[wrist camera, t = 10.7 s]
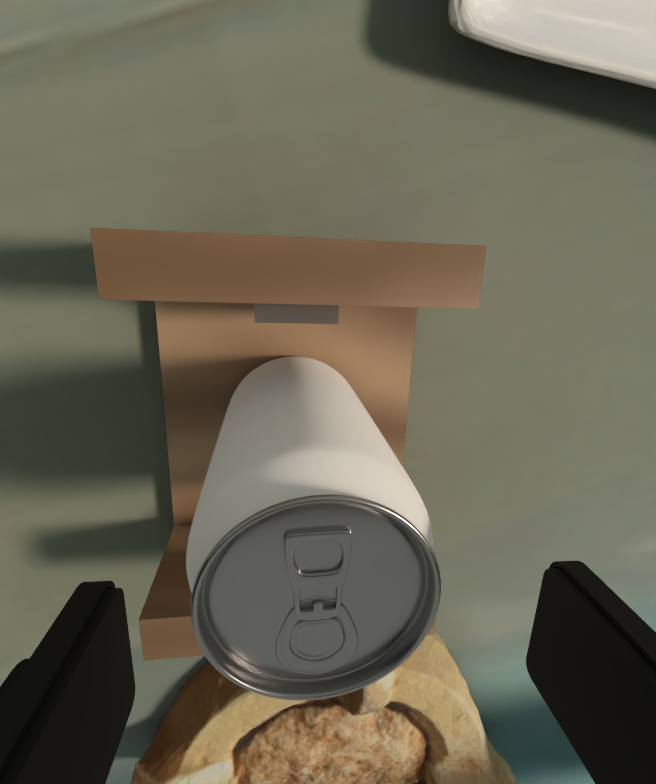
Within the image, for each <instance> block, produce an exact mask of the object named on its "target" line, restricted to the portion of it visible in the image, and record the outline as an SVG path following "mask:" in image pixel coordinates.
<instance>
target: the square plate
mask: <svg viewBox="0 0 656 784" xmlns="http://www.w3.org/2000/svg"><path fill="white" fill-rule="evenodd" d="M448 16H449V22H450V25H451V26H452V27H453V28H454V29H455V30H456V31H457V32H458V33H459V34H461V35H464V36H466V37H468V38H471V39H473V40H475V41H478V42H481V43H483V44H486V45H489V46H491V47H494V48H498V49H501V50H504V51H507V52H510V53H514V54H518V55H522V56H526V57H530V58H534V59H537V60H540V61H543V62H547V63H552V64H557V65H561V66H565V67H569V68H573V69H578V70H582V71H586V72H590V73H594V74H598V75H602V76H606V77H610V78H614V79H618V80H622V81H626V82H630V83H634V84H638V85H642V86H646V87H649V88H653V89H656V0H449V8H448Z"/></svg>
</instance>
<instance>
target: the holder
mask: <svg viewBox="0 0 656 784" xmlns="http://www.w3.org/2000/svg"><path fill="white" fill-rule="evenodd" d="M90 230H91V238H92V246H93V254H94V262H95V271H96V279H97V287H98V295H99V300H138V301H155V307H156V318H157V330H158V342H159V354H160V365H161V377H162V389H163V401H164V412H165V424H166V436H167V448H168V459H169V471H170V483H171V495H172V506H173V518H174V528H173V531H172V533H171V536H170V538H169V541H168V544H167V546H166V549H165V552H164V554H163V557H162V560H161V562H160V565H159V568H158V570H157V573H156V576H155V578H154V581H153V583H152V586H151V589H150V591H149V594H148V597H147V599H146V602H145V605H144V607H143V610H142V613H141V615H140V618H139V627H140V635H141V643H142V651H143V660H153V659H165V658H176V657H188V656H199V655H204V654H203V652H202V651H201V649H200V647H199V645H198V643H197V640H196V638H195V635H194V632H193V628H192V622H191V610H190V607H191V596H192V593H191V590H190V586H189V582H188V577H187V570H186V553H187V545H188V538H189V534H190V529H191V526H192V522H193V518H194V514H195V511H196V508H197V504H198V501H199V498H200V494H201V491H202V488H203V484H204V481H205V478H206V475H207V471H208V468H209V465H210V462H211V459H212V455H213V452H214V449H215V446H216V443H217V440H218V436H219V433H220V430H221V427H222V424H223V421H224V418H225V415H226V412H227V409H228V406H229V403H230V400H231V398H232V396H233V394H234V392H235V390H236V388H237V387H238V385H239V384H240V383H241V381H242V380H243V379H244V378H245V377H246V376H247V375H248V374H249V373H250V372H252V371H253V370H254V369H256V368H257V367H259V366H261V365H262V364H264V363H267V362H269V361H272V360H275V359H279V358H284V357H306V358H311V359H314V360H318V361H320V362H323V363H325V364H327V365H328V366H330V367H332V368H333V369H335V370H336V371H337V372H338V373H339V374H340V375H342V376H343V377H344V379H345V380H346V381H347V382H348V383H349V385H350V386H351V388H352V389H353V391H354V392H355V393H356V395H357V396H358V398H359V400H360V401H361V403H362V404H363V406H364V407H365V409H366V410H367V412H368V413H369V415H370V416H371V418H372V420H373V421H374V423H375V424H376V426H377V427H378V429H379V430H380V432H381V434H382V435H383V437H384V438H385V440H386V441H387V443H388V445H389V446H390V448H391V449H392V451H393V452H394V454H395V456H396V457H397V459H398V460H399V462H400V463H401V465H402V460H403V449H404V439H405V428H406V418H407V407H408V397H409V386H410V376H411V365H412V355H413V344H414V334H415V323H416V313H417V307H431V308H473V309H478V305H479V297H480V290H481V283H482V276H483V268H484V261H485V254H486V246H480V245H458V244H436V243H414V242H392V241H370V240H348V239H326V238H305V237H283V236H261V235H239V234H217V233H195V232H173V231H151V230H129V229H108V228H90ZM435 618H436V616H435ZM434 625H435V619H434V621H433V624H432V626H431V628H430V630H429V632H428V633H427V635H426V636H428V635H433V633H434Z"/></svg>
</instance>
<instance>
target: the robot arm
mask: <svg viewBox="0 0 656 784" xmlns="http://www.w3.org/2000/svg"><path fill="white" fill-rule="evenodd" d="M526 665H527V669H528V672H529V675H530V677H531V679H532V681H533V682H534V684H535V686H536V687H537V689H538V691H539V692H540V694H541V695H542V697H543V699H544V700H545V702H546V704H547V705H548V707H549V709H550V710H551V712H552V713H553V715H554V717H555V718H556V720H557V722H558V723H559V725H560V727H561V728H562V730H563V731H564V733H565V735H566V736H567V738H568V740H569V741H570V743H571V745H572V746H573V748H574V749H575V751H576V753H577V754H578V756H579V758H580V759H581V761H582V763H583V764H584V766H585V767H586V769H587V771H588V772H589V774H590V776H591V777H592V779H593V781H594V782H595V784H656V632H655V631H654V630H653V629H652V628H651V627H649V626H648V625H647V624H646V623H645V622H644V621H643V620H642V619H641V618H640V617H639V616H638V615H637V614H636V613H635V612H634V611H633V610H632V609H631V608H630V607H629V606H628V605H627V604H626V603H625V602H624V601H622V600H621V599H620V598H619V597H618V596H617V595H616V594H615V593H614V592H613V591H612V590H611V589H610V588H609V587H608V586H607V585H606V584H605V583H604V582H603V581H602V580H601V579H600V578H599V577H598V576H597V575H595V574H594V573H593V572H592V571H591V570H590V569H589V568H588V567H587V566H586V565H585V564H584V563H582V562H580V561H559V562H553V563H552V564H551V565H550V567H549V569H546V570H545V572H544V575H543V580H542V585H541V590H540V595H539V599H538V604H537V609H536V614H535V619H534V624H533V628H532V633H531V638H530V643H529V648H528V652H527V657H526ZM134 696H135V681H134V673H133V665H132V656H131V648H130V640H129V632H128V624H127V616H126V608H125V600H124V593H123V590H122V588H115V584H114V583H113V581H97V582H83V583H81V584H80V585H79V586H78V587H77V588H76V590H75V591H74V593H73V594H72V596H71V597H70V599H69V600H68V602H67V603H66V605H65V606H64V608H63V609H62V611H61V612H60V614H59V615H58V617H57V618H56V620H55V621H54V623H53V624H52V626H51V627H50V629H49V630H48V632H47V633H46V635H45V636H44V638H43V639H42V641H41V642H40V644H39V645H38V647H37V648H36V650H35V651H34V653H33V654H32V656H31V657H30V659H24V660H22V661H21V662H20V663H18V664H17V665H16V666H15V668H14V669H13V670H12V671H11V672H10V674H9V675H8V677H7V678H6V680H5V681H4V682H3V684H2V685H1V687H0V784H105V783H106V780H107V777H108V774H109V771H110V768H111V766H112V763H113V760H114V757H115V754H116V751H117V749H118V746H119V743H120V740H121V737H122V734H123V732H124V729H125V726H126V723H127V720H128V717H129V715H130V712H131V709H132V706H133V701H134Z"/></svg>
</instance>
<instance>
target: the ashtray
mask: <svg viewBox="0 0 656 784" xmlns="http://www.w3.org/2000/svg"><path fill="white" fill-rule="evenodd" d="M131 784H516V778H515V776H514V774H513V773H512V770H511V767H510V765H509V763H508V762H507V761H506V760H505V759H504V758H503V757H502V756H501V755H500V754H499V753H498V752H497V751H496V750H495V749H494V748H493V746H492V744H491V743H490V741H489V739H488V737H487V735H486V733H485V730H484V727H483V724H482V722H481V719H480V716H479V712H478V709H477V707H476V705H475V703H474V701H473V699H472V698H471V696H470V694H469V690H468V687H467V683H466V681H465V680H464V678H463V676H462V675H461V673H460V672H459V670H458V667H457V665H456V663H455V662H454V660H453V658H452V657H451V655H450V653H449V651H448V649H447V647H446V646H445V644H444V643H443V641H442V640H441V639H440V638H439V636H438V635H437V634H436V633H435V632H434V633H433V635H428V636H426V637H425V638H424V640H423V641H422V643H421V644H420V645H419V647H418V648H417V649H416V650H415V651H414V652H413V654H412V655H411V656H410V657H409V658H408V659H407V660H406V661H405V662H403V663H402V664H401V665H400V666H399V667H397V668H396V669H395V670H394V671H392V672H391V673H389V674H388V675H386V676H385V677H383V678H381V679H380V680H378V681H376V682H374V683H372V684H370V685H368V686H366V687H364V688H361V689H359V690H356V691H354V692H351V693H348V694H344V695H340V696H336V697H332V698H326V699H319V700H304V701H299V700H284V699H277V698H272V697H267V696H263V695H260V694H257V693H254V692H251V691H249V690H247V689H244V688H242V687H240V686H239V685H237V684H235V683H233V682H232V681H230V680H229V679H227V678H226V677H225V676H223V675H222V674H221V673H220V672H219V671H218V670H216V669H215V668H214V666H213V665H212V664H211V663H210V662H209V661H208V662H207V663H206V664H204V665H203V666H202V667H201V668H200V669H198V670H197V671H196V672H195V673H194V674H192V675H191V676H190V677H189V678H188V680H187V681H186V682H185V683H184V684H183V686H182V688H181V689H180V691H179V692H178V694H177V696H176V697H175V699H174V700H173V702H172V704H171V706H170V708H169V710H168V712H167V714H166V716H165V717H164V718H163V720H162V723H161V725H160V728H159V730H158V733H157V735H156V736H155V738H154V740H153V742H152V744H151V745H150V747H149V748H148V750H147V751H146V752H145V754H144V755H143V756H142V758H141V759H140V760H139V761H138V763H137V764H136V765H135V769H134V772H133V777H132V781H131Z"/></svg>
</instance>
